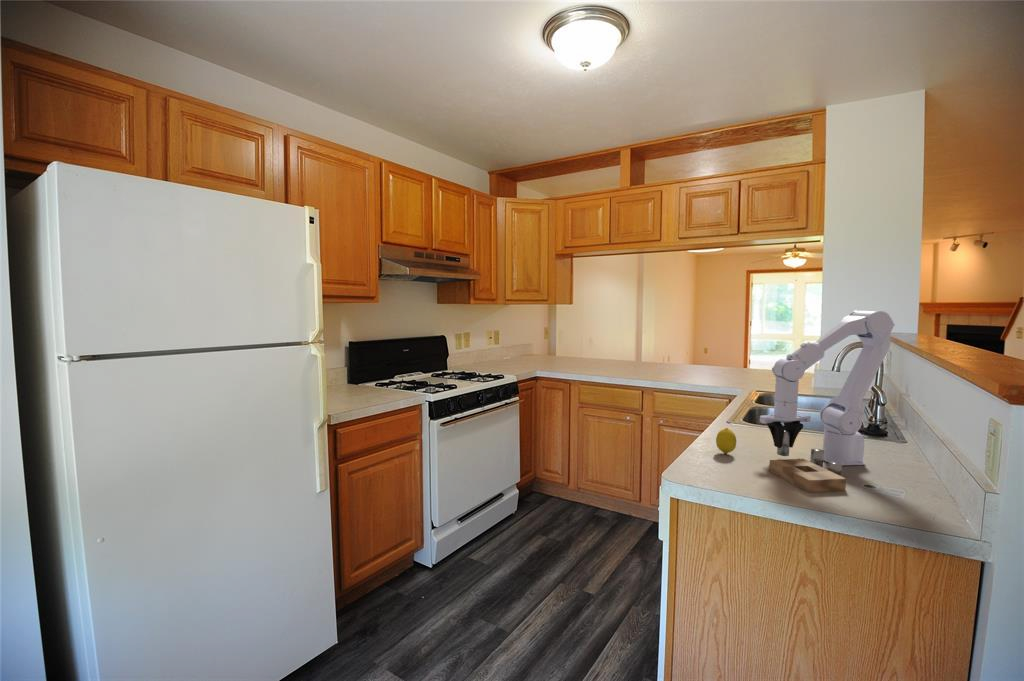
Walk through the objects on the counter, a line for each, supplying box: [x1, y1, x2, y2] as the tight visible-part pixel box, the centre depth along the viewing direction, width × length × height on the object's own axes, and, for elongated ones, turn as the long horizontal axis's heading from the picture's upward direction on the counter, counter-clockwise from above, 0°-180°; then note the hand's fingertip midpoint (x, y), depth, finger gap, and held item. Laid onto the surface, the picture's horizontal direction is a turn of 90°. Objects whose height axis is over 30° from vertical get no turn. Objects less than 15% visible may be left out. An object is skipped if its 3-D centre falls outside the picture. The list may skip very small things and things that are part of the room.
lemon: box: [715, 427, 737, 455], centre depth 138 cm, size 6×6×8 cm
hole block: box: [768, 458, 847, 493], centre depth 119 cm, size 10×14×3 cm
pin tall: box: [776, 430, 791, 457], centre depth 134 cm, size 3×3×7 cm
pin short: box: [827, 461, 843, 476], centre depth 122 cm, size 3×3×4 cm
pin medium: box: [809, 447, 824, 468], centre depth 128 cm, size 3×3×5 cm
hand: (783, 446), depth 134 cm, fingers closed on pin tall, 3 cm apart
